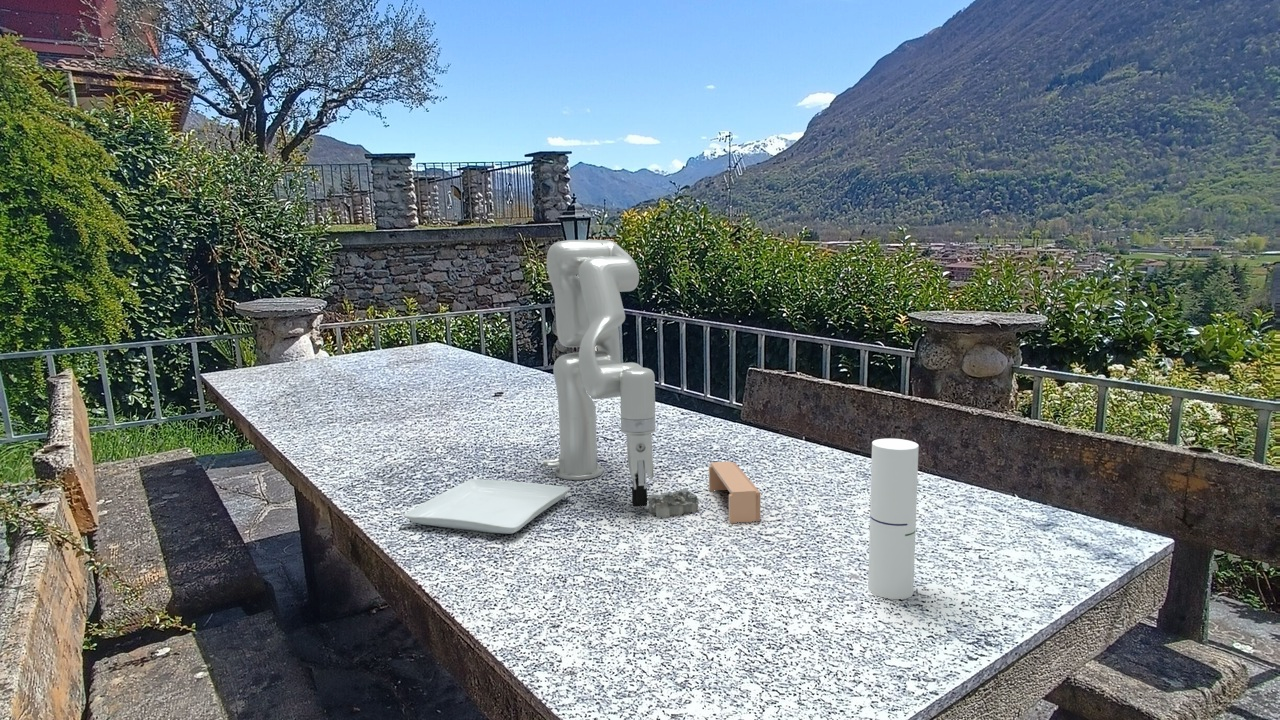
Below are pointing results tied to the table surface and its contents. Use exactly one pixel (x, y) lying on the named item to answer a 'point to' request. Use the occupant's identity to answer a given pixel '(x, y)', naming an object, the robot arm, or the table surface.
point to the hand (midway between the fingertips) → (639, 505)
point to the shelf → (736, 491)
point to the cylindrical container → (893, 518)
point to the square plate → (488, 505)
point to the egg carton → (673, 503)
